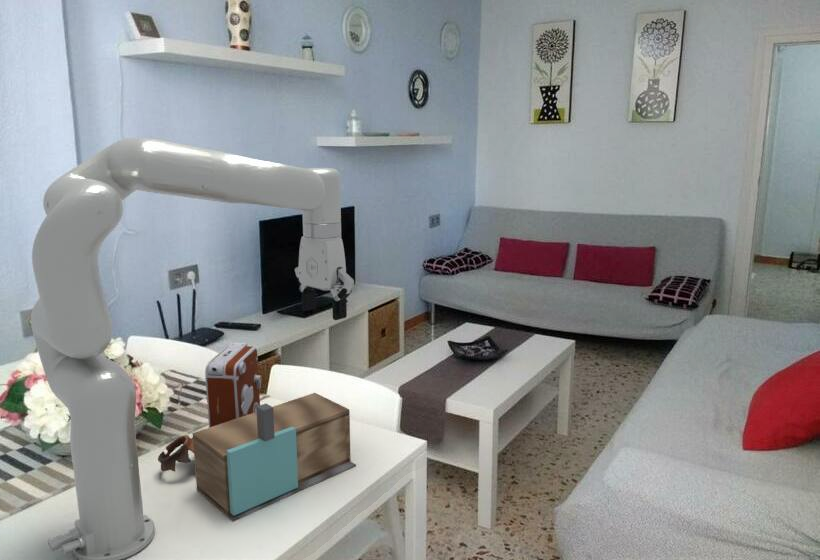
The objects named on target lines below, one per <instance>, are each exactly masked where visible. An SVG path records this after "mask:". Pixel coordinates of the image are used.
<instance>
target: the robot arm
mask: <svg viewBox="0 0 820 560" xmlns="http://www.w3.org/2000/svg"><path fill="white" fill-rule="evenodd" d="M135 191H142V192H147V193H154V194H160V195H166V196H167V195H168V196H176V197H183V198H191V199H198V200H205V201H212V202H220V203H225V204H248V205H257V206H258V205H259V206H267V207H268V206H269V207H274V208H275V207H276V208H281V209H288V210H296V211H301V212H302V234H303V235H302V236H301V238H300V243H299V251H298V253H299V254H298V266H297V267H295V268H294V272H295V276H296V281H297V283H298V285H299V291H300V292H301V308H302V309H301V310H302V311H304V312H307V311H310V310H316V308H317V299H316V298H317V297H316V296H317V292H316V290H320V291H326V292H327V291H330V293H331V295H332V296H333V299H332V302H331V303H332V304H331V305H332V309H331V310H332V320H334V321H338V320H342V319H346V318H347V316H348V314H347V309H348V307H347V306H348V305H347V304H348V303H347V300H348V299H349V297H350V295H351V293H352V290H353V288H354V284H355V279H354V278H353V277H351V276H350V275H349V274H348V273H347V267H346V256H345V255H346V254H345V248H344V242H343V239H342V220H341V219H342V215H341V214H342V213H341V212H342V211H341V209H342V201H341V199H342V198H341V195H342V194H341V174H340V172H339V170H337V169H336V168H331V167H310V168H309V167H308V168H304V167H300V166H299V167H298V166H294V165H289V164H284V163H283V164H282V163H279V162H278V163H277V162H272V161H266V160H260V159H256V158H251V157H248V156H245V155H238V154H236V153H230V152H225V151H219V150H215V149H208V148H204V147H199V146H193V145H188V144H182V143H178V142H172V141H168V140H163V139H157V138H151V137H149V138H148V137H125V138H122V139H118V140H117V141H115V142H113V143H111V144H109V145H107V146H106V147H105V148H103V149H102V150H100V151H98V152H96V154H94V155H92V156H91V157H89V158H87V159H86V160H84V161H83V162H81V163H79V164H78V165H77V166H76V167H74V168H72V169H70V170H68V172H65V173H63V174H62V175H61V176H59V177H58V178H56V179H55V180H54V181H53V182H51V184H50V185H49V186H48V188H46V190H45V193H44V195H43V200H42V201H43V203H42V204H43V210H44V212H45V215H46V216H45V217H44V219H43V221H42V222H41V224H40V226H39V228H38V229H37V233H36V235H35V238H34V240H33V245H32V251H31V260H32V263H31V264H32V269H33V274H34V278H35V283H36V286H37V291H38V295H39V298H38V300H36V301H35V303H34V306H33V307H32V310H31V313H30V314H31V315H30V324H31V325H30V326H31V330H32V334H33V338H34V343H35V346H36V349H37V352H38V356H39V359H40V363H41V366H42V369H43V373H44V375H45V379H46V381H47V384H48V387H49V388H50V390H51V392H52V393H53V394H54V395H55V397H56V398H57V399H58V400H59V401H60V402H61V403H62V404H63V405H64V406H65V408H66V409H67V411H68V413H69V418H70V433H69V434H70V436H69V437H70V439H69V440H70V441H69V442H70V453H71V455H70V456H71V461H72V463H71V464H72V468H73V477H74V478H73V479H74V484H75V485H74V486H75V492H76V494H75V495H76V499H77V500H76V501H77V507H78V510H77V511H78V518H79V519H76V520H75V521H74V528H71V529H70V528H69V530H68V531H69V532H66V533H63V534H60V535H58V536H55V537H51V538H49V539H48V540H47V543H48V548H49V550H50V552H55V551H57V550H59V549H61V550H62V551H61V552H62V553H63V555H65V554H67V553H70V552H72V553H73V555H74V557H75V558H76V559H78V560H123V559H127V558H128V557H131V556H133V555H135V554H137V553H139V552H140V551H142V550H143V549H144V548H145V547H147V546H148V545H149V543H151V542H152V540H153V539H154V536H155V534H156V528H155V527H156V526H155V522H154V520H153V519H152V518H151V517H149V516H147V515H146V514H144V507H143V500H142V499H143V498H142V488H141V476H140V469H139V468H140V467H139V457H138V448H137V437H136V436H137V435H136V409H137V391H136V390H137V389H136V388H135V384H134V381H133V379H132V378H131V376H130V375H129V373H128V372H127V371H126V370H125V369H124V368H123V367H121V366H120V365H119V364H118V363H116V362H114V361H113V360H112V359H109V357H106V353H105V350H106V349H107V348H108V347H109V345H110V344H111V342H112V339H113V334H114V326H113V319H112V316H111V314H110V309H109V307H108V303H107V300H106V294H105V292H104V288H103V284H102V279H101V273H100V268H99V262H98V261H99V260H98V259H99V252H100V249H101V247H102V245H103V242H104V241H105V240H106V238H107V237H108V236H109V235H110V234H111V233H112V232H113V231H114V230H115V229H116V228H117V227H118V225H119V223H120V222H121V220H122V217H123V213H124V203H123V200H126V199H127V198H128V197H129V196H130V195H131V194H133V193H134V192H135ZM315 289H316V290H315ZM338 290H339V292H338Z"/></svg>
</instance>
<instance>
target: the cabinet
mask: <svg viewBox="0 0 820 560" xmlns="http://www.w3.org/2000/svg"><path fill="white" fill-rule="evenodd" d="M272 407H273V414H274V433H276V432H278V431H281V430H284V429H287V428H289V427H294V428H296V444H297V470H298V488H295V489H293V490H291V491H289V492H286V493H284V494H282V495H280V496H277V497H275V498H273V499H271V500H268V501H266V502H264V503H262V504H259V505H257V506H255V507H253V508H250V509H248V510H246V511H244V512H241V513H239V514H237V515H235V516H233V515H232V514H231V513H230V498H229V483H228V468H227V452H226V450H229V449H232V448H234V447H237V446H240V445H243V444H245V443H248V442H251V441H254V440H256V439H259V438H258V429H257V412H255V413H252V414H249V415H246V416H243V417H240V418H237V419H234V420H231V421H228V422H225V423H222V424H219V425H215V426H212V427H209V426H208V428H207V427H206V428H204V429H201V430H198V431H194V432H192V437H193V446H194V453H193V457H194V470H195V482H196V492H198V493H199V494H200V495H201V496H202V497H204V498H205V499H206V500H207V501H208V502H210V503H211V505H213V506H214V507H215V508H216V509H217V510H219V512H221V513H222V514H223V515H225V516H226V517H227V518H228V519H229V520H230V521H232V522H235V521H237V520H240V519H241V518H244V517H246V516H247V515H250V514H253V513H255V512H257V511H259V510H262V509H264V508H266V507H268V506H271V505H274V504H275V503H277V502H279V501H281V500H284V499H286V498H288V497H290V496H293V495H295V494H298V493H299V492H300V493H301V492H302V491H304V490H306V489H308V488H311V487H313V486H315V485H317V484H320V483H322V482H324V481H326V480H328V479H330V478H333V477H335V476H337V475H339V474H342V473H344V472H346V471H348V470H351V469H353V468H355V467H357V464H356V463H354V462H352V460H351V423H350V421H351V418H350V415H351V414H350V409H349V408H347V407H346V406H344V405H341V404H339V403H337V402H335V401H333V400H331V399H329V398H327V397H324V396H323V395H320V394H318V393H316V392H313V393H310V394H306V395H304V396H301V397H298V398H297V397H296V398H293V399H291V400H289V401H286V402H282V403H279V404H277V405H276V404H275V405H273V406H272Z"/></svg>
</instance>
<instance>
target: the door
mask: <svg viewBox="0 0 820 560" xmlns="http://www.w3.org/2000/svg"><path fill="white" fill-rule="evenodd" d="M256 410H257V429H258V438H259V439H256V440H254V441H251V442H248V443H245V444H243V445H240V446H237V447H234V448H232V449H229V450H226V452H227V468H228V483H229V498H230V513H231V514H232V515H233V516H235V515H237V514H239V513H241V512H244V511H246V510H248V509H250V508H253V507H255V506H257V505H259V504H262V503H264V502H266V501H268V500H271V499H273V498H275V497H277V496H280V495H282V494H284V493H286V492H289V491H291V490H293V489H295V488H298V470H297V444H296V428H294V427H289V428H287V429H284V430H281V431H278V432H276V433H274V414H273V406H272V405H270V404H268V403H263V404H260V405H259V406H256Z"/></svg>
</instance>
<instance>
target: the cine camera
mask: <svg viewBox="0 0 820 560" xmlns="http://www.w3.org/2000/svg"><path fill="white" fill-rule="evenodd" d="M258 357H259V356H258V350H257V347H255V346H248V343H247V342H232V343H231V344H230V345H228V346H226V347H224V348H223V349H222V350H221V351H220V352H219V353H218V354H216V355H215V356H214V357H213V358H212V359H210V361H208V362H207V364H206V366H205V371H204V372H205V373H204V375H205V388H206V389H205V390H206V404H207V418H208V419H207V421H208V428H209V427H212V426H215V425H219V424H222V423H225V422H228V421H231V420H234V419H237V418H240V417H243V416H246V415H249V414H252V413H255V412H257V410H256V406H259V405H261V399H260V398H261V397H260V396H261V395H260V390H261V388H262V385H261V383H262V376H261V375H259V358H258Z"/></svg>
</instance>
